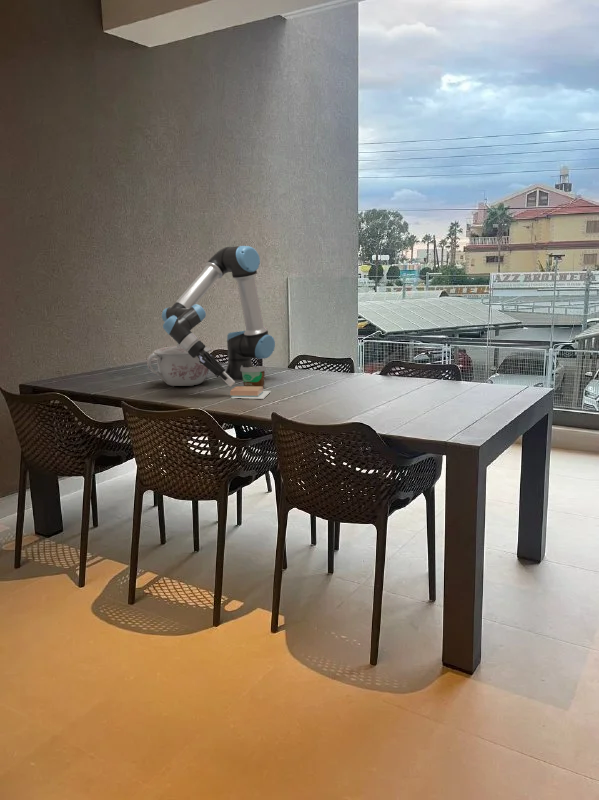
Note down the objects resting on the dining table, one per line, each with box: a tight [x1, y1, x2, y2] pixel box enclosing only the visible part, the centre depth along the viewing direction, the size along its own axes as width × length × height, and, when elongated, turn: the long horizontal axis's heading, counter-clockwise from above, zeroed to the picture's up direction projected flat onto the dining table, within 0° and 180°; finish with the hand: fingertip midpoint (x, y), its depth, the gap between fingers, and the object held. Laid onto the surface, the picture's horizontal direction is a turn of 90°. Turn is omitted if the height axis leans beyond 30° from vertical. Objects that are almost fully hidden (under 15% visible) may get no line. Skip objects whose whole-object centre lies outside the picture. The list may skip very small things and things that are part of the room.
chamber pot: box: [146, 343, 213, 387], centre depth 305 cm, size 28×28×21 cm
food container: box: [240, 365, 267, 388], centre depth 293 cm, size 12×6×10 cm, turn 71°
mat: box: [230, 390, 272, 400], centre depth 277 cm, size 16×14×1 cm
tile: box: [229, 385, 264, 397], centre depth 277 cm, size 10×2×12 cm
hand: (232, 384), depth 277 cm, fingers closed
